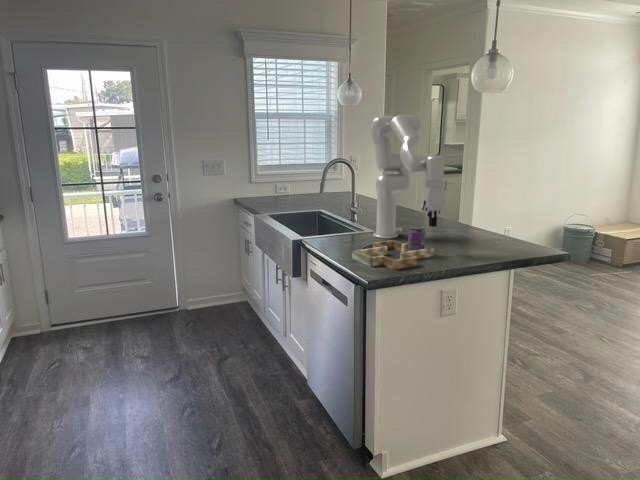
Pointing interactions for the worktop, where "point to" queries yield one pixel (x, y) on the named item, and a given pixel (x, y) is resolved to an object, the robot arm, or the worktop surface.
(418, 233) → the beverage can
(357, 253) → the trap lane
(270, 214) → the worktop surface
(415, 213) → the worktop surface
